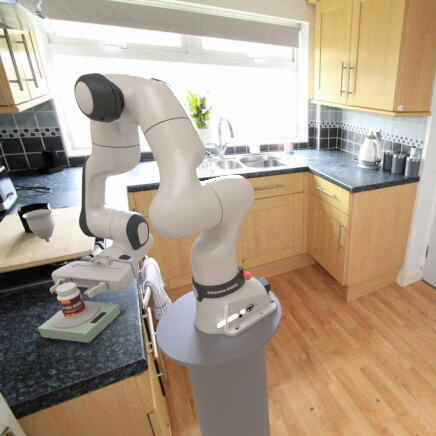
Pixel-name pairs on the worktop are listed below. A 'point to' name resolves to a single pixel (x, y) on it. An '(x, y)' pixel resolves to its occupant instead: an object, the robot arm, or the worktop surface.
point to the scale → (80, 323)
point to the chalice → (40, 223)
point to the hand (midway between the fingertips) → (69, 293)
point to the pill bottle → (70, 300)
